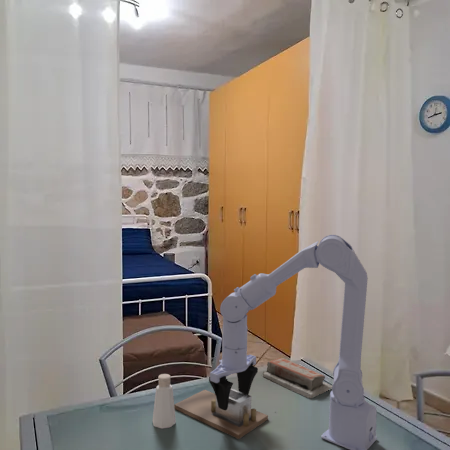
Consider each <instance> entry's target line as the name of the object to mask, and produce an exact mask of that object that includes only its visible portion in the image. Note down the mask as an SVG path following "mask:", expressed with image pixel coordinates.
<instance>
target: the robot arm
mask: <svg viewBox="0 0 450 450" xmlns="http://www.w3.org/2000/svg"><path fill="white" fill-rule="evenodd" d="M320 265H321V266H322V267H323V268H325V269H327V270H329V271H331V272H333V273H335V275H336V276H337V277H338V278H339V279H340V280H342V282H343V283H344V291H343V294H344V295H343V302H342V305H343V306H342V315H341V316H342V317H341V329H340V330H341V331H340V343H339V354H338V361H337V363H336V364H335V366H334V368H333V374H332V375H333V383H332V389H331V390H330V393H329V412H328V413H329V416H328V417H329V418H328V429H327V430H325V431H324V432H323V433H322V434H321V435H320V437H321V439H323V440H324V441H325V440H326V441H328V442H330V443H333V444H335V445H337V446H341V447H343V448H345V449H348V450H368V449H370V447H371V446H372V445H373V444H374V443H375V442H376V441H377V439H378V437H377V408H376V406H375V405H372V404H370V403H369V402H368V401H367V400H366V398H365V391H364V385H363V383H364V382H363V370H362V368H361V365H362V364H361V362H362V349H363V337H364V327H365V325H364V324H365V315H366V301H367V293H368V291H367V290H368V289H367V288H368V281H369V280H368V279H369V278H368V273H367V271H366V268H365V267H364V265H363V264H362V262H361V260H360V259H359V257H358V255H357V253H356V252H355V250H354V248H353V246H352V245H351V244H350V243H349V242H348V241H346V240H345V239H344V238H343V237H341V236H339V235H336V234H329V235H326V236H324V237H322V239H321V240H320V242H319V240H318V241H315V242H313V243H311V244H310V245H308V246H305V247H304V248H302V249H301V250H300V251H298V252H297V253H295V254H294V255H293V256H292V257H290V258H289V259H288V260H286V261H285V262H283V263H282V264H281V265H279V266H278V267H277V268H275V269H274V270H272V271H271V272H270V273H269V274H267V273H258V274H256V273H254V274H252V275H251V276H250V277H249V278H250V280H249V281H248V282H246V283H245V284H243V285H242V286H240V287H239V286H237V287H236V288H234V289H233V291H234V292H231V293H230V294H229V295H228V296H226V297H225V298H224V299H223V301H222V302H221V304H220V309H219V313H220V315H221V317H222V334H221V336H222V337H221V338H222V339H221V341H222V344H221V347H222V349H221V351H222V352H221V359H219V361H218V365H217V367H216V368H215V369H214V370H212V371H210V372H209V374H210V375H209V377H208V382H209V385H210V386H211V388H212V390H213V393H214V394H215V395H216V398H217V402H218V407H219V408H220V409H223V410H227V408H228V403H229V394H230V390H231V388H232V387H233V385H234V382H231V381H229V380H228V378H227V377H228V376H230V375H233V374H236V377H237V383H238V384H237V387H238V388H237V389H238V390H237V391H240V392H242V393H245V394H247V395H250V390H251V387H252V383H253V382H254V378H255V377H256V375H257V374H258V373H259V372H258V371H259V368H258V367H256V364H257V356H256V355H253V354H248V313H249V311H253V310H255V309H257V308H258V307H259V306H261V305H262V304H263V303H265V302H267V301H268V300H269V299H270V298H273V297H274V296H275V295H276V293H277V287H278V286H279V285H281V284H282V283H284V282H285V281H287V280H288V279H290V278H291V277H293V276H295V275H296V274H298V273H299V272H301V271H303V270H304V269H307V268H309V269H317V268H318V269H319V266H320Z"/></svg>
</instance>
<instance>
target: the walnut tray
mask: <svg viewBox="0 0 450 450" xmlns="http://www.w3.org/2000/svg"><path fill="white" fill-rule="evenodd" d="M174 408H175V411H176V410H177V411H178V412H180V413H182V414H185V415H187V416H189V417H191V418H193V419H195V420H197V421H200V422H202V423H203V424H206V425H208V426H210V427H212V428H214V429H216V430H218V431H221V432H223V433H225V434H227V435H229V436H231V437H234V438H235V439H238V440H240V439H241V438H243V437H244V436H246V435H247V434H249V433H251V432H252V431H253V430H254V429H256V428H257V427H259V426H260V425H262V424H263V423H265V422H266V421H268V420H269V415H268V414H265V413H263V412H260V411H258V410H257V409H256V408H251V417H250V418H249V414H248V413H244V415H243V422H242V423H241V424H237V423H235V422H233V421H230V420H228V419H226V418H224V417H221V416H219V415H217V414H216V395H215V392H211V391H209V390H207V389H203V390H201V391H199V392H196V393H194V394H193V395H191V396H189V397H187V398H185V399H182V400H181V401H178V402H176V403H174Z"/></svg>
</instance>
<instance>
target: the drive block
mask: <svg viewBox="0 0 450 450" xmlns="http://www.w3.org/2000/svg"><path fill="white" fill-rule="evenodd" d="M251 409H252V395H250V394H249V395H247V394H245V393H242V392H240V391H238V390H236V389H234V388H232V387H231V390H230V394H229V403H228V408H227V410H223V409H220V408H219V407H218V402H217V398H216V414H217V415H219V416H221V417H224V418H226V419H228V420H230V421H233V422H235V423H237V424H241V423H242V422H243V415H244V413H248V414H249V418H250V417H251Z"/></svg>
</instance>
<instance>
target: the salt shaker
mask: <svg viewBox="0 0 450 450" xmlns="http://www.w3.org/2000/svg"><path fill="white" fill-rule="evenodd" d="M171 377H172V376H171V375H170V374H168V373H161V374H159V375H158V377H157V378H158V385H157V386H156V387H155V395H154V402H153V403H154V405H153V411H152V412H153V413H152V424H153V427H155V428H158V429H168V428H172V426H175V424H176V423H177V422H176V409H175V408H174V404H175V399H174V389H173V386H172V384H171Z"/></svg>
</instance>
